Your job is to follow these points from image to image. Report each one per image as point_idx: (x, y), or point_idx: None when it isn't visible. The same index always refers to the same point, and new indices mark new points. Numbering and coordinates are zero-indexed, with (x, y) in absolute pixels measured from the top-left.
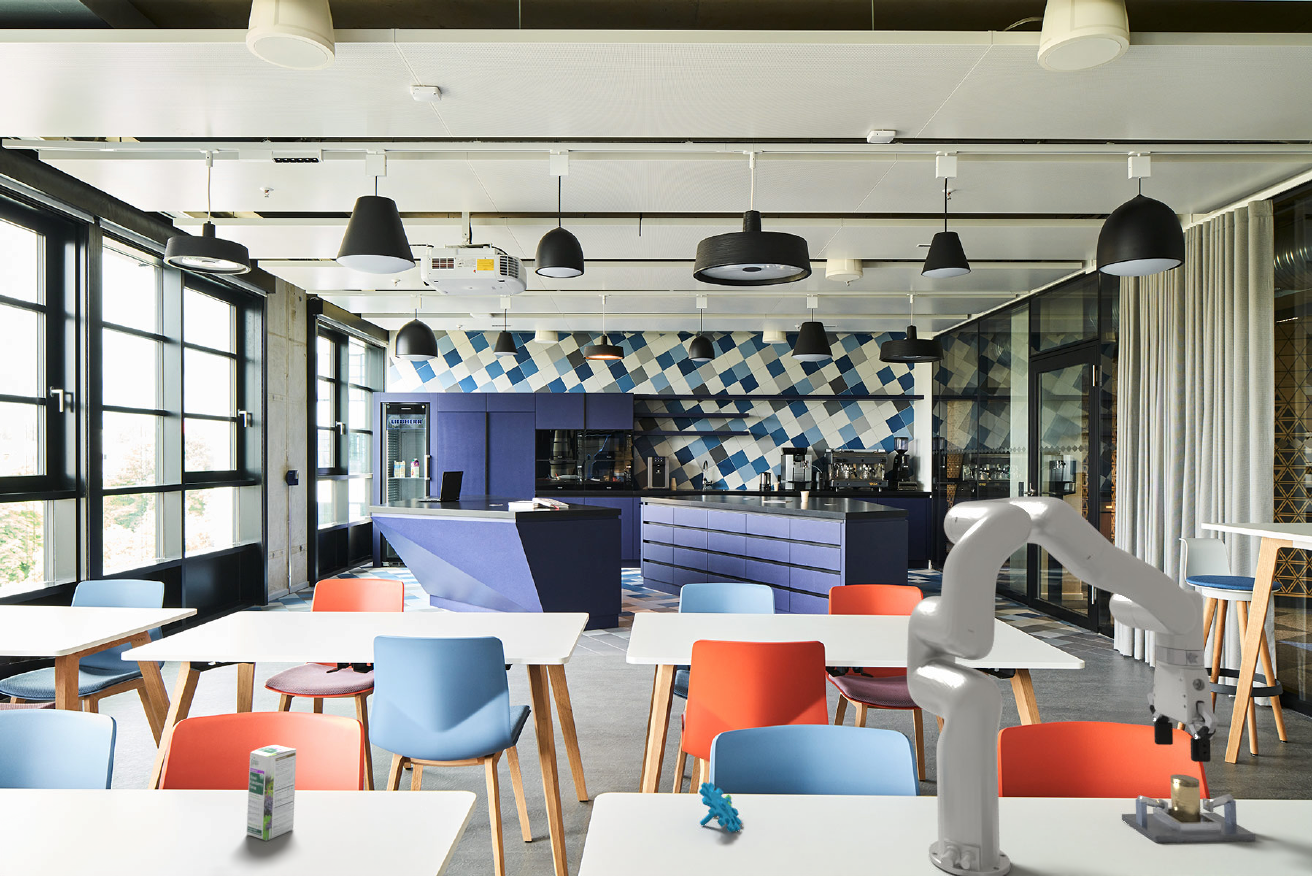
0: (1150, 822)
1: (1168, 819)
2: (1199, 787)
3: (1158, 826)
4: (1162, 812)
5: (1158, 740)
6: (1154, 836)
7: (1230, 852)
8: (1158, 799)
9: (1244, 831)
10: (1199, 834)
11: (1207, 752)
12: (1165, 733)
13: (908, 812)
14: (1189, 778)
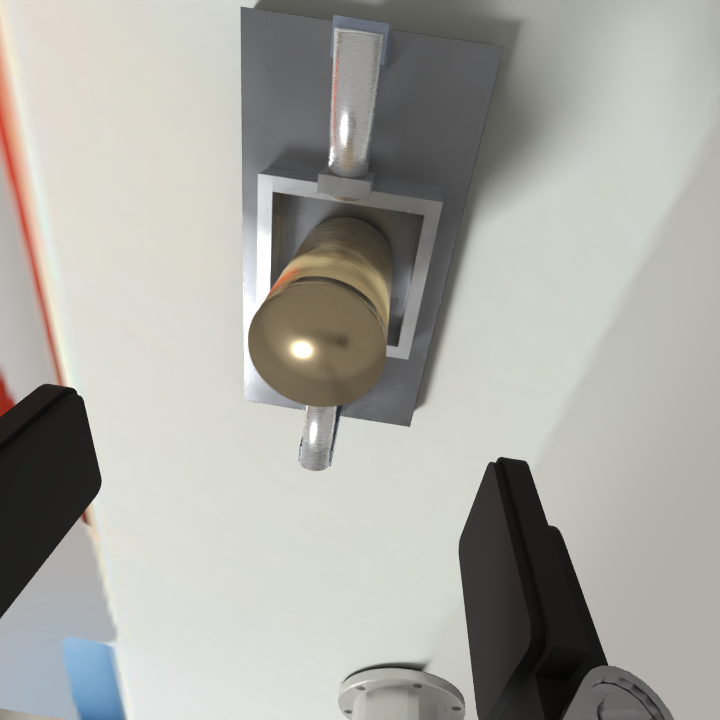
0: None
1: None
2: (368, 294)
3: None
4: None
5: (83, 503)
6: (404, 423)
7: (535, 256)
8: None
9: (465, 75)
10: (436, 296)
11: (564, 564)
12: (30, 509)
13: (197, 674)
14: (318, 326)
